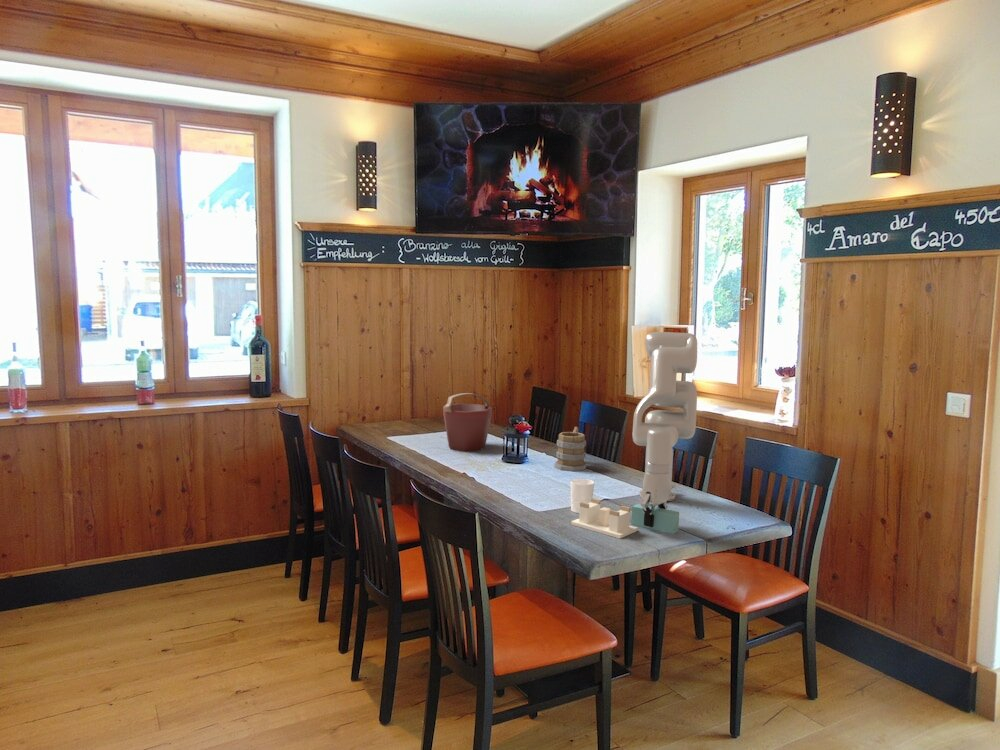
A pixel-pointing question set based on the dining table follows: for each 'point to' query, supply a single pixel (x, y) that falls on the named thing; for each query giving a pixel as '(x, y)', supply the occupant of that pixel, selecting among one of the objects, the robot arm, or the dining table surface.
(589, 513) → the stand
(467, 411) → the bucket
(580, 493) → the white cup
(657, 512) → the teal bar
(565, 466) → the tankard
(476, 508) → the dining table surface
